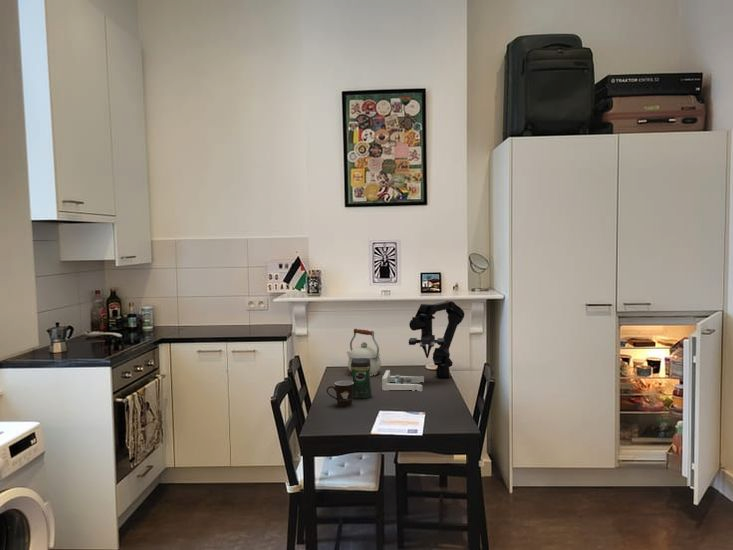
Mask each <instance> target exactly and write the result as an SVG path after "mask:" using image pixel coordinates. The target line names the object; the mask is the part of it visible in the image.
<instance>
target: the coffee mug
mask: <svg viewBox="0 0 733 550" xmlns="http://www.w3.org/2000/svg"><path fill="white" fill-rule="evenodd" d="M353 385H354V382H352V380H339V381H335V382H334V386H332V385H330V386H328V387H327V388H326V393H327V394H328V395H329V397H331V398H333V399H335V401H336V402H337V406H338V407H340V406H342V407H341V408H344V407H343V406H348V407H351V406H352V405H353ZM330 388H331V389H333V390H334V391H335V395H336V396H333V395H332V394H330V392H329V389H330ZM350 405H351V406H350Z"/></svg>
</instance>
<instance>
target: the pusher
mask: <svg viewBox="0 0 733 550" xmlns="http://www.w3.org/2000/svg"><path fill="white" fill-rule="evenodd" d="M394 376H395V383H394V384H398V380H399V376H400V374H396V375H394Z"/></svg>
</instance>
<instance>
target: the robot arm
mask: <svg viewBox="0 0 733 550" xmlns="http://www.w3.org/2000/svg"><path fill="white" fill-rule="evenodd" d="M441 311H445V313H446V314H447V325H446V329H445V332H444V333H443V337H438V338H437V339H436V337H435V334H433V320H435V319H436V317H435V316H434V315H436V313H438V312H441ZM464 318H465V311H464V310H463V309H462V308H461V307H460V306H459V305H457V304H456V303H455V302H454V301H452V300H445V301H442V302H438V303H437V302H436V303H433V304H430V303H429V304H428V303H421V304H420V306H419V307H418V309H417V311H416V314H415V316H412V317H411V320H410V321H409V325H408V326H409V328H410V329H411V330H412V331H419V330H421V332H420V333H421V335H420V339H418V338H417V337H410V338H409V339H408V345H409V346H415V345H416V344H419V347H421V348H422V350H423V352H424V354H425V357H426V359H429V355H430V352H431V350H432V348H433V347H435V344H437V345H438V347H435V348H434V350H433V353H432V361H433V363H434V366H437V367H436V368H435V369H436V370H435V372H436V377H437V379H450V368H451V367H452V366H453V361H452V359H451V358H450V356H451V353H450V348H451V344H452V342H453V339H454V336H455V333H456V330H457V327H458V326H459V324H461V322H463V320H464Z"/></svg>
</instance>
